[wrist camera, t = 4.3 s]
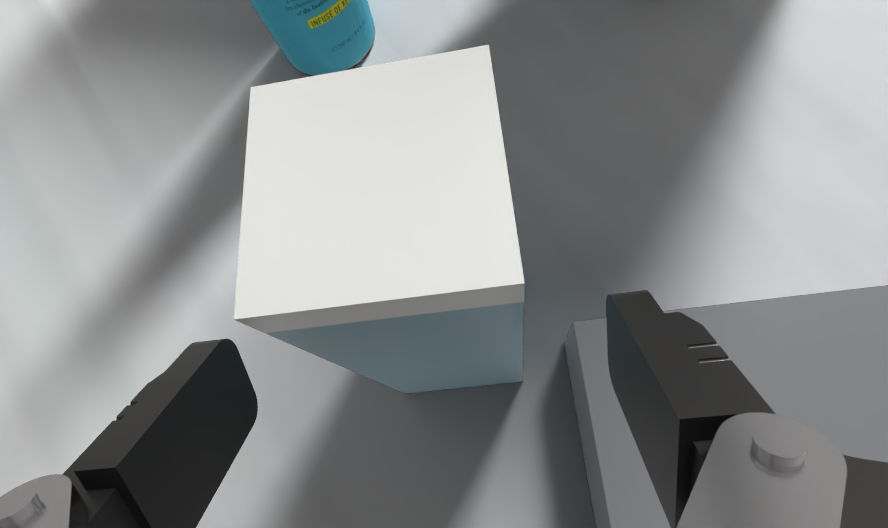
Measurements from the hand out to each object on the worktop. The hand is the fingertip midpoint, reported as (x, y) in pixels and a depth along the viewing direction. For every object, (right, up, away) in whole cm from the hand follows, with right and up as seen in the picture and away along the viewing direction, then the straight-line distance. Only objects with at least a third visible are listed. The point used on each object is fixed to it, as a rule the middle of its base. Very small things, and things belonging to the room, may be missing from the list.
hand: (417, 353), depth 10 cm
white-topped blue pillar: (+1, -1, +9) cm, 9 cm away
